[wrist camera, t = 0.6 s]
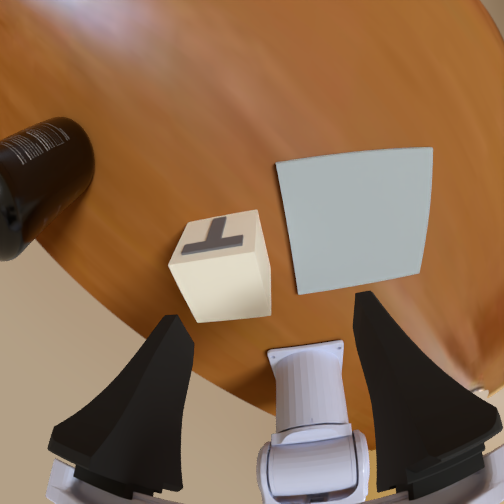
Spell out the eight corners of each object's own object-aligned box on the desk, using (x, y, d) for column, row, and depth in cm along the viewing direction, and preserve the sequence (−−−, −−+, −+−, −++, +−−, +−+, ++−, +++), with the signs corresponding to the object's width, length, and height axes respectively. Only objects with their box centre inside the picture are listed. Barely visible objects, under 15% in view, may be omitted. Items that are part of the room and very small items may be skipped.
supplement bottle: (26, 145, 15) (-81, 218, 5) (74, 97, 13) (-70, 156, 3) (61, 210, 18) (-29, 308, 9) (112, 175, 17) (-3, 288, 7)
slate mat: (417, 271, 20) (419, 273, 20) (298, 292, 22) (298, 294, 22) (430, 146, 14) (432, 148, 14) (275, 162, 16) (275, 164, 16)
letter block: (270, 266, 21) (271, 315, 17) (208, 275, 22) (197, 322, 18) (256, 206, 18) (253, 249, 14) (187, 219, 19) (166, 262, 15)
